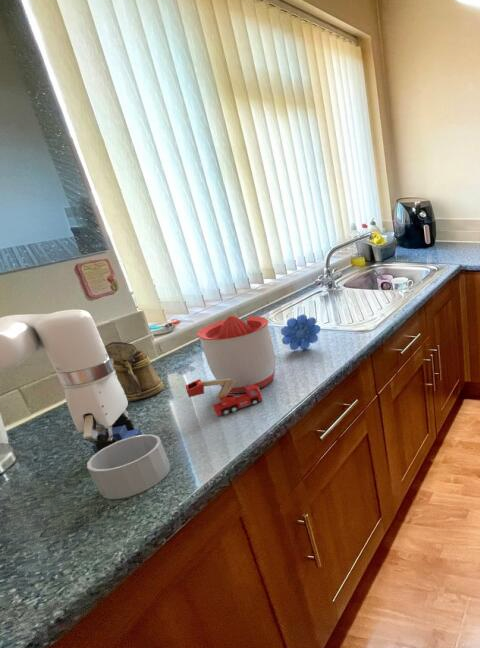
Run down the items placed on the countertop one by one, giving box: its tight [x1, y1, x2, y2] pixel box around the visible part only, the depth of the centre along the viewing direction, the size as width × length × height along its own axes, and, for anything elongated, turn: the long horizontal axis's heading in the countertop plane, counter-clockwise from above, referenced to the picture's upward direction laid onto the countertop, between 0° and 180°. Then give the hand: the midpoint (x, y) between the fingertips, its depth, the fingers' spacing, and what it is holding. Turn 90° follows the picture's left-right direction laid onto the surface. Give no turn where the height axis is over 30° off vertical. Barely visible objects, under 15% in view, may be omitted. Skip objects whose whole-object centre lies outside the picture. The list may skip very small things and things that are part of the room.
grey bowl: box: [86, 434, 172, 500], centre depth 76 cm, size 10×10×6 cm
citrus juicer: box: [196, 315, 276, 394], centre depth 108 cm, size 16×17×20 cm
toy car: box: [91, 425, 143, 455], centre depth 85 cm, size 7×3×4 cm, turn 113°
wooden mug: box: [104, 341, 165, 402], centre depth 102 cm, size 9×14×18 cm, turn 35°
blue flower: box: [280, 313, 321, 351], centre depth 130 cm, size 12×7×12 cm, turn 109°
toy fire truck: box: [185, 378, 263, 417], centre depth 97 cm, size 3×14×10 cm, turn 134°
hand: (120, 445), depth 86 cm, fingers open, 6 cm apart
